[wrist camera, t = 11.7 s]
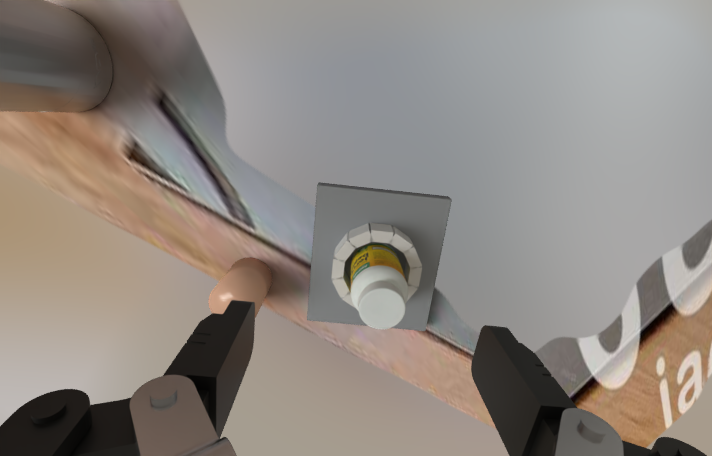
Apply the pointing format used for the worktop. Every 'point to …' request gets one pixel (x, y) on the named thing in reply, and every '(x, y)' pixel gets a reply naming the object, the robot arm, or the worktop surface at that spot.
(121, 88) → the worktop surface
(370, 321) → the supplement bottle
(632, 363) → the worktop surface
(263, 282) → the peach pill-shaped knob
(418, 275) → the collar board
